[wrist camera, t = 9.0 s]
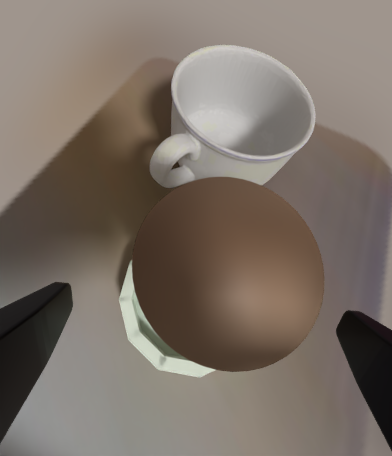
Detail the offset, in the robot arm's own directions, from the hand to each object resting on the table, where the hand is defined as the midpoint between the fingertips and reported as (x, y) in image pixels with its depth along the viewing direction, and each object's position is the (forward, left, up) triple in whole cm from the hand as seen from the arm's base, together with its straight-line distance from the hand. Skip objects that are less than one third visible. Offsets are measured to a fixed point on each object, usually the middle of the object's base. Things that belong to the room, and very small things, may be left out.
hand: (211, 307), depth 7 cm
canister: (+1, -1, -10) cm, 10 cm away
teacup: (+12, -7, -11) cm, 18 cm away
